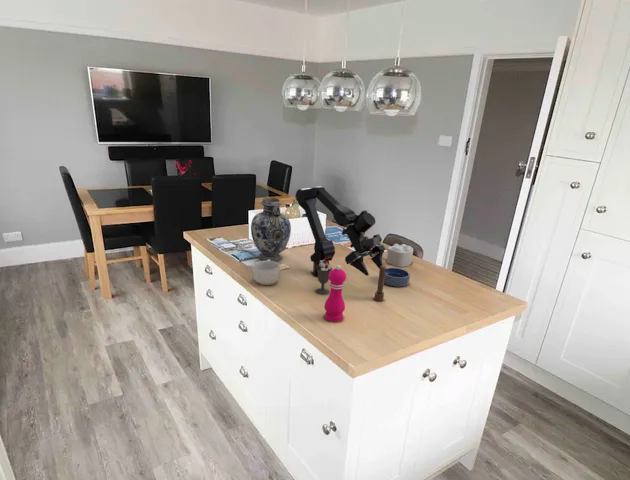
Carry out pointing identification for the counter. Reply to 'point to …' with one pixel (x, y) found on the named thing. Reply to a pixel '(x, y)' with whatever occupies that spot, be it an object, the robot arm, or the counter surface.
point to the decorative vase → (270, 230)
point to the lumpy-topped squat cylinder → (400, 255)
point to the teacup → (266, 272)
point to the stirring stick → (380, 285)
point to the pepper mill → (335, 295)
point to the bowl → (396, 277)
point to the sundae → (323, 275)
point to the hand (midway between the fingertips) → (375, 272)
